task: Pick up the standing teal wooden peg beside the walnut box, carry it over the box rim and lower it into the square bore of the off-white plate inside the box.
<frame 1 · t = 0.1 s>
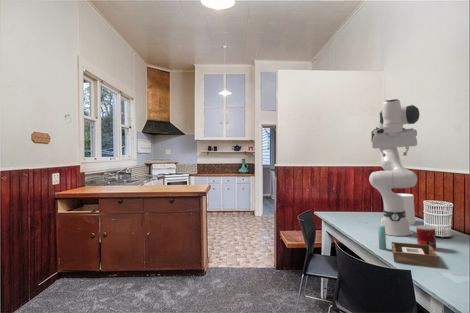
hand: (394, 156, 139), 48 cm above the table, fingers open, 8 cm apart
peg: (382, 249, 137), on the table
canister: (401, 223, 191), on the table
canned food: (426, 249, 136), on the table
box: (413, 259, 123), on the table
plate: (413, 258, 123), resting on box
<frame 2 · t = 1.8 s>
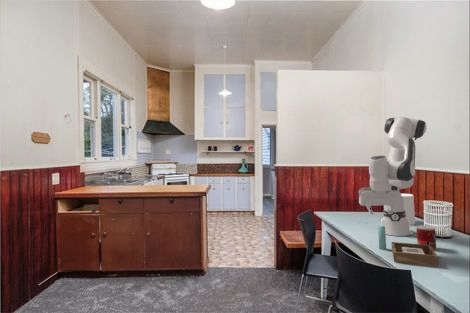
hand: (380, 214, 138), 18 cm above the table, fingers open, 8 cm apart
nothing on the table moved.
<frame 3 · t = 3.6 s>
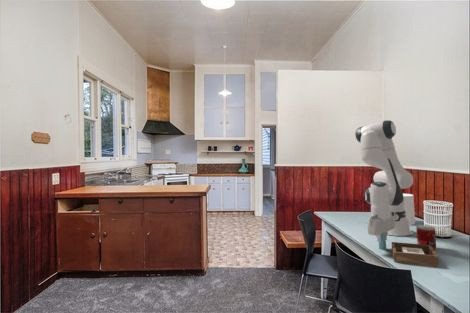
hand: (382, 240, 137), 5 cm above the table, fingers closed on peg, 3 cm apart
peg: (382, 249, 137), on the table, touching gripper
everything else where it was.
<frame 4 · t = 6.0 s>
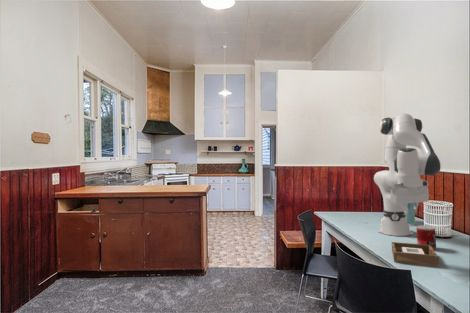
hand: (410, 212, 123), 21 cm above the table, fingers closed on peg, 3 cm apart
peg: (410, 223, 123), point 17 cm above the table, touching gripper
everything else where it was.
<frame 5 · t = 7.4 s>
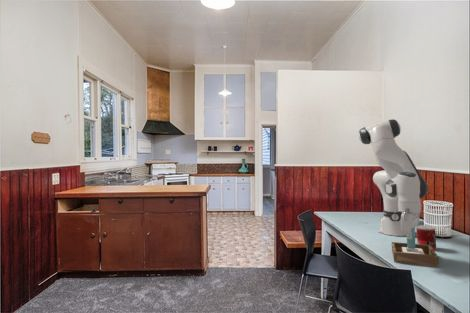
hand: (411, 237, 123), 10 cm above the table, fingers closed on peg, 3 cm apart
peg: (411, 247, 123), point 5 cm above the table, touching gripper
everything else where it was.
when the fingers open (6 cm above the table, at t = 8.4 s): peg stays where it is, resting on box.
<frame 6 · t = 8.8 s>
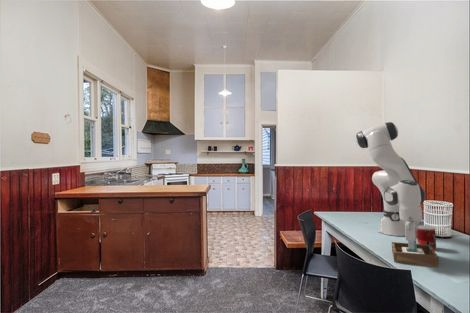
hand: (412, 245, 123), 6 cm above the table, fingers open, 7 cm apart
peg: (412, 257, 123), point 1 cm above the table, touching box
everything else where it was.
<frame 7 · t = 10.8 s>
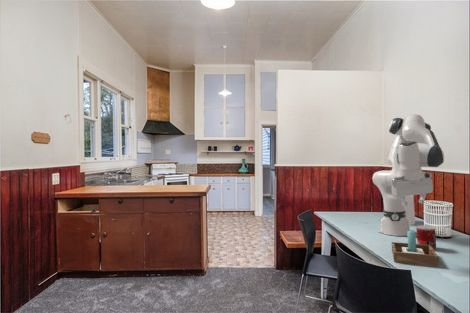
hand: (413, 204, 127), 24 cm above the table, fingers open, 8 cm apart
nothing on the table moved.
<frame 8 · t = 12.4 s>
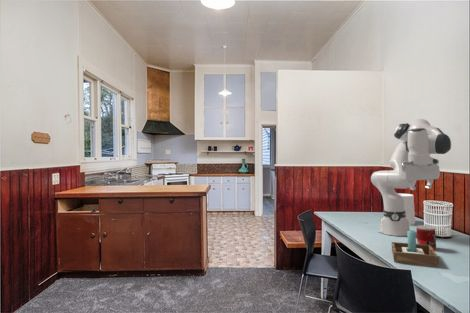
hand: (420, 189, 131), 31 cm above the table, fingers open, 8 cm apart
nothing on the table moved.
at the end: peg 0.1 cm off-centre on the plate, point 0.0 cm above the plate's base; peg tilted 0°; the gripper is holding nothing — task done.
